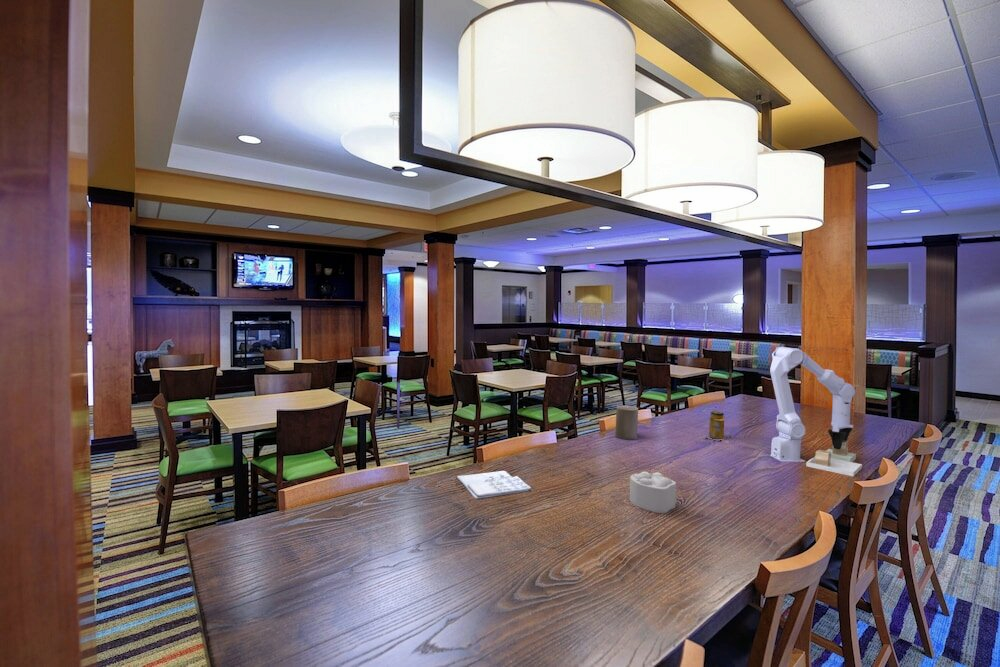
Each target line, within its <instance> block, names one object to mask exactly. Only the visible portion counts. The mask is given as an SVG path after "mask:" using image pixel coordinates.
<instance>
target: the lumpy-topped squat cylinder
mask: <svg viewBox="0 0 1000 667" xmlns="http://www.w3.org/2000/svg"><path fill="white" fill-rule="evenodd" d="M676 494H677V482H676V481H674V480H672V479H670V478H668V477H666V476H664V475H663V473H661V472H658V471H656V472H653V473H651V472H648V471H641V472H640V473H633V474H631V475H630V478H629V501H630V503H631V504H633V505H634V506H636V507H638V508H640V509H643V510H646V511H648V512H649V511H650V512H653V513H657V514H667V513H668V512H669V511H671V510H673V509H675V508H676V505H677V504H676V500H677V497H676V496H677V495H676Z"/></svg>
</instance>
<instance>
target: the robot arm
mask: <svg viewBox="0 0 1000 667" xmlns="http://www.w3.org/2000/svg"><path fill="white" fill-rule="evenodd" d="M771 357H772V361H771V365H770V369H769V372H770V376H771V382H772V384H773V390H774V395H775V399H776V404H777V409H778V414H777V415H776V424H775V427H776V430H777V431H778V436H773V437H772V438H771V439H772V440H771V442H770V443H771V448H770V454H769V456H770V457H772V458H774V459H775V460H778V461H779V462H784V463H786V462H789V463H790V462H792V463H793V462H801V463H802V462H806V460H805V459H802V458H801V449H802V447H801V445H802V443H801V442H802V438H803V437H804V436H805V434H806V430H807V429H806V427H805V425H804V424H803V422H802V419H801V418H800V417H799V415H798V414H797V412H796V410H795V404H794V398H793V395H792V390H791V387H790V380H789V377H788V373H789V372H790V371H791V370H793V369H794V368H796V367H797V366H798V365H801V366H802V367H804V368H805V369H807V370H808V371H809V372H811V373H812V374H814V375H815V376H816V380H817V381H818V382H819V383H820V384H822V385H823V386H824V387H826V388H827V389H828V390H829V392H830V394H832V408H831V422H830V424H831V427H832V429H828V430H827V433H828V434H829V437H830V439H831V443H832V449H833V448H834V449H841V446H842V441H843V440H844V441H848V439H849V435H850V434H851V432H852V431H853V428H854V424H851V405H852V402H853V397H854V396H855V394H856V390H855V389H854V386H853V385H852V384H850V383H849V382H845V379H844V378H842V377H839V376H838V375H836V373H835V371H834V370H832V369H828V368H827V369H824V368H823V367H821V366H820V365H819V364H818V363H817V362H815V360H813V359H812V358H811V357H810V356H809V355H808V354H807V353H806V352H804V351H802V350H801V349H800V348H797V347H796V348H793V347H786V346H779V347H777V348H776V349H775V350H774V351H773V352H772V354H771Z"/></svg>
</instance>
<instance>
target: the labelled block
mask: <svg viewBox="0 0 1000 667" xmlns="http://www.w3.org/2000/svg"><path fill="white" fill-rule="evenodd" d="M848 448H849V441H848V440H847V441H844V440H843V441H842V446H841V449H834V448H833V447H832V449H833V450H832V454H838V455H843V456H845V455H847V452H848Z"/></svg>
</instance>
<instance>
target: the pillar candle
mask: <svg viewBox="0 0 1000 667" xmlns="http://www.w3.org/2000/svg"><path fill="white" fill-rule="evenodd" d="M615 415H616V416H615V437H616V438H618V439H620V440H625V441H626V440H629V441H632V440H637V439H638V429H639V428H638V424H639V407H636V406H632V405H617V406H616V414H615Z"/></svg>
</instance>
